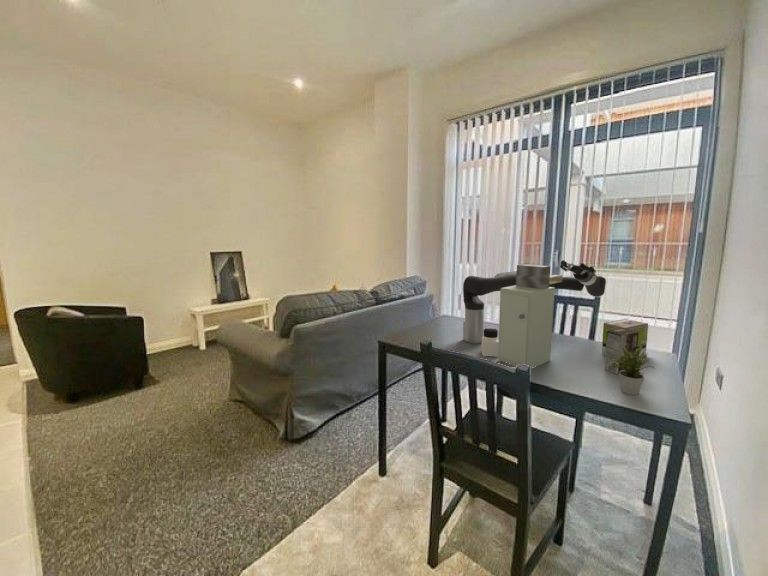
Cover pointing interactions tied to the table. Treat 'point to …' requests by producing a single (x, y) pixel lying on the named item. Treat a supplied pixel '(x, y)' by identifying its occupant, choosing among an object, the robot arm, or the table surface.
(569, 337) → the table surface
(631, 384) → the house plant
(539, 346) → the cabinet
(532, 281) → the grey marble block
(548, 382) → the table surface
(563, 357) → the table surface
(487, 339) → the medicine bottle
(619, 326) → the tea box
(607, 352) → the coffee box
